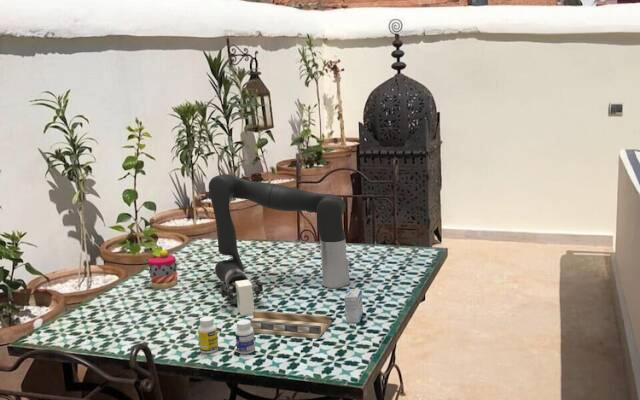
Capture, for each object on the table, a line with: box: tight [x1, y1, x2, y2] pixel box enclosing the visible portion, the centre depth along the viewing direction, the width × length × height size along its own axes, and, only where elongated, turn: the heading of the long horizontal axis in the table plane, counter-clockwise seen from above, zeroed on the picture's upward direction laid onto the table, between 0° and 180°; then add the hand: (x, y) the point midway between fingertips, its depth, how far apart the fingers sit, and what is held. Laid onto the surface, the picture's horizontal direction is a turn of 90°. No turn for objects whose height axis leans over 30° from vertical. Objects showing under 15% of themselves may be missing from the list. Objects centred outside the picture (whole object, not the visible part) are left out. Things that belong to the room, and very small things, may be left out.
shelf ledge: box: [249, 310, 332, 339], centre depth 211 cm, size 26×12×3 cm, turn 70°
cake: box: [147, 245, 179, 290], centre depth 260 cm, size 10×11×15 cm
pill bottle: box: [234, 318, 256, 355], centre depth 195 cm, size 5×5×9 cm
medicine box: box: [344, 288, 364, 324], centre depth 214 cm, size 8×4×9 cm, turn 168°
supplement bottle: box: [197, 315, 219, 354], centre depth 197 cm, size 5×5×10 cm
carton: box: [235, 279, 255, 317], centre depth 227 cm, size 4×6×10 cm
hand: (245, 295), depth 226 cm, fingers open, 8 cm apart
